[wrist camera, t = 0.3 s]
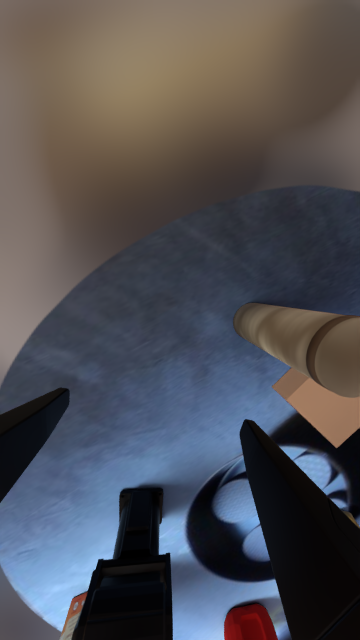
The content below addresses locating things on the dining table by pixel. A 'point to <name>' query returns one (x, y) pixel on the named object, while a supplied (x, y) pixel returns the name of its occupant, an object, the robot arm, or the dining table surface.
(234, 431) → the dining table surface
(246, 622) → the red bottle
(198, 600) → the dining table surface
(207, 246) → the dining table surface
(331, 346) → the birch column
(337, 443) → the terracotta plinth
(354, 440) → the dining table surface
